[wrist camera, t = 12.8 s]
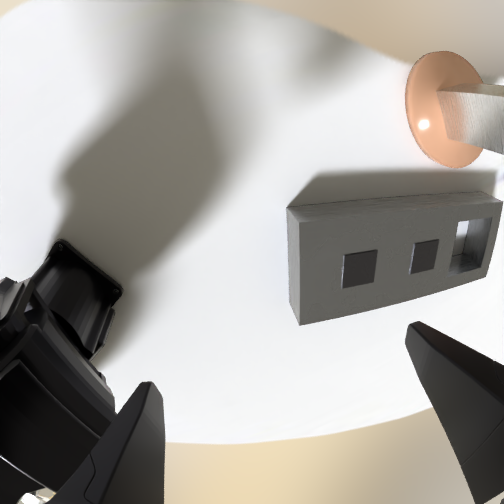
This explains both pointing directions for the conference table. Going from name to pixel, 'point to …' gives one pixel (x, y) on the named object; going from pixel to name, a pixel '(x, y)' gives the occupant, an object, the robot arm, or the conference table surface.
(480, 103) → the steel peg
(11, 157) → the conference table surface
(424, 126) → the terracotta coaster
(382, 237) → the rack rail
